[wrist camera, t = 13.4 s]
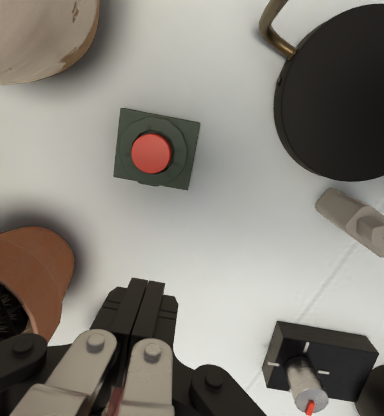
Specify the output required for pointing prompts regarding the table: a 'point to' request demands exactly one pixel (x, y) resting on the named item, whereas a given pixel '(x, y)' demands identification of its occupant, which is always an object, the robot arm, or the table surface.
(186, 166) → the box
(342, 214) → the power adapter
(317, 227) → the table surface
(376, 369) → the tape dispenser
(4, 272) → the potted plant
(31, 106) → the table surface
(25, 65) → the vase
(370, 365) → the panel
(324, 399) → the knob
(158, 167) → the button
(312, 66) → the lamp
